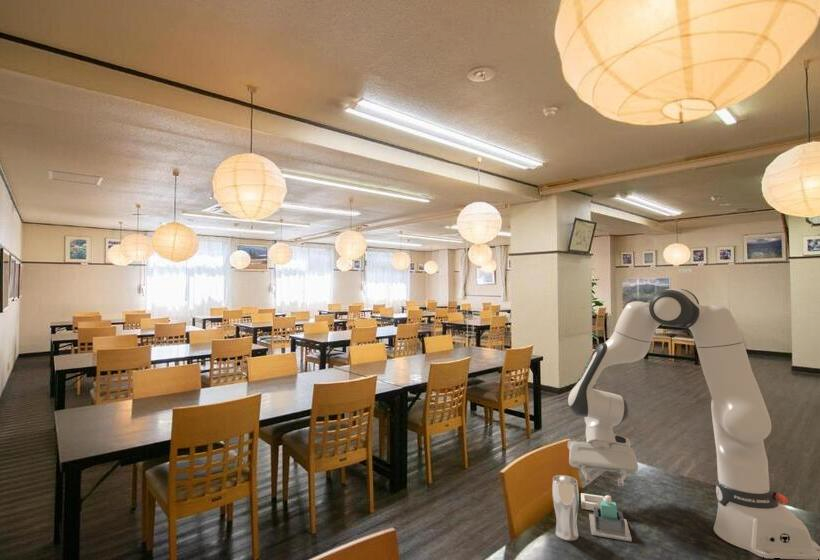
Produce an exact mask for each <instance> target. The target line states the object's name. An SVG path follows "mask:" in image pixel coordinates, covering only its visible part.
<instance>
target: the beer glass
mask: <svg viewBox="0 0 820 560" xmlns="http://www.w3.org/2000/svg"><path fill="white" fill-rule="evenodd" d="M551 489H552V494H551V495H552V501H553V503H552V504H553V508H554V513H555V517H556V518H555V519H556V523H555V524H556V525H555V535H556V536H557V537H558V538H559V539H561V540H565V541H568V542H570V541H571V542H572V541H576V540H578V539H579V535H580V534H579V531H578V530H579V529H578V525H577V524H578V523H577V521H578V519H577V518H578V512H579V503H580V501H579V500H580V499H579V497H580V495H579V493H580V492H579V486H578V480H577V479H576V478H575V477H572V476H569V475H565V474H558V475H554V476H553V477H552V488H551Z"/></svg>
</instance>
